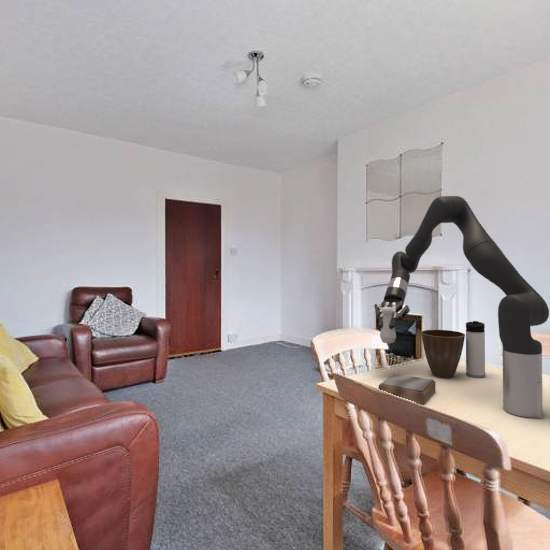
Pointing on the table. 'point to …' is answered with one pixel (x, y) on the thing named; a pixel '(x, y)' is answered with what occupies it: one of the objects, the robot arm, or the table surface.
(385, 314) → the salt shaker
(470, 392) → the table surface
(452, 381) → the table surface
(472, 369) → the travel mug
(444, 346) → the plant pot
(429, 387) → the plinth
